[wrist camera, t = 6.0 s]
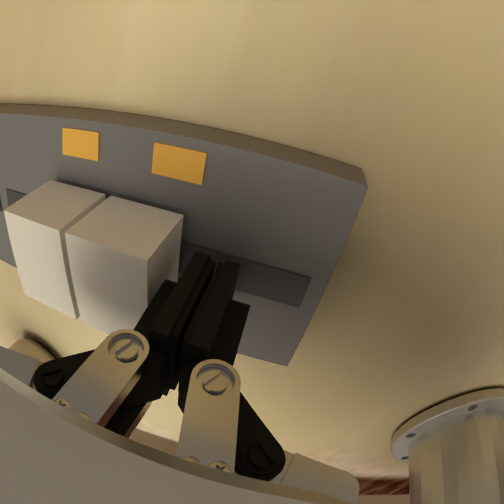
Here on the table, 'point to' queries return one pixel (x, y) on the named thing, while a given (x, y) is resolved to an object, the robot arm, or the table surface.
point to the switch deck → (201, 201)
